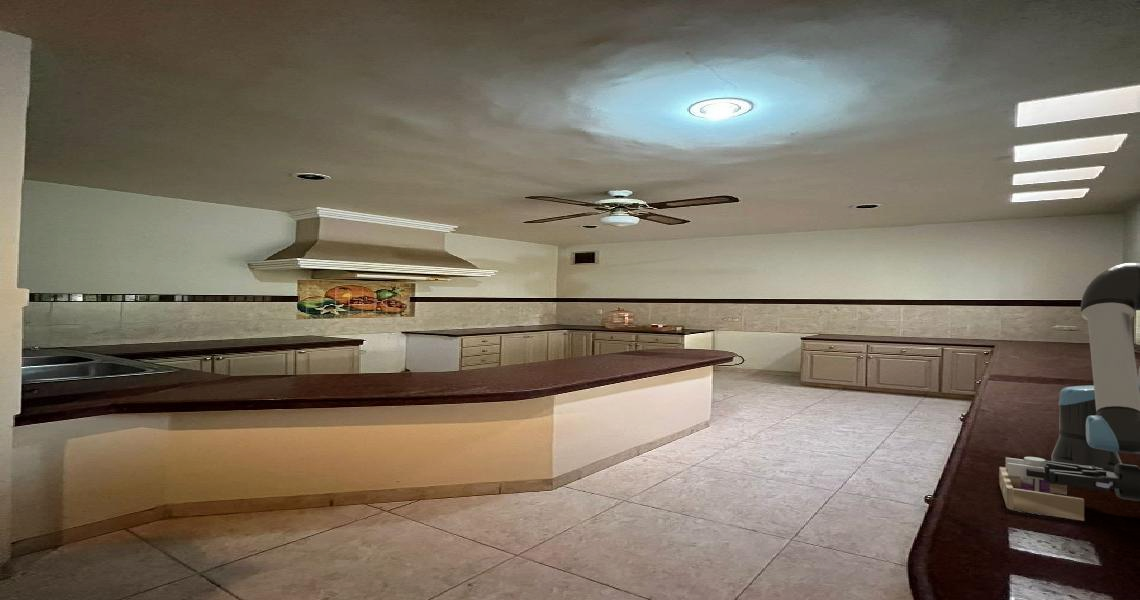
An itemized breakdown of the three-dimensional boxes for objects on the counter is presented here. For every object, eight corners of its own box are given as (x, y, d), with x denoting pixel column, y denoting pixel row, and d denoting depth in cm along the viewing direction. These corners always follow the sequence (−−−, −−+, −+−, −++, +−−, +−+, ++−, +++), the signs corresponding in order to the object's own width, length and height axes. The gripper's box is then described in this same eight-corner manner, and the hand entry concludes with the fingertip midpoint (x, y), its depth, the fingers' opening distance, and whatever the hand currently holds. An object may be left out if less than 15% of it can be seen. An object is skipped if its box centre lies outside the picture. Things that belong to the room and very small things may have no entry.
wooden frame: (999, 483, 146) (999, 466, 146) (1065, 493, 139) (1065, 475, 139) (1006, 508, 128) (1006, 488, 128) (1084, 520, 120) (1084, 499, 121)
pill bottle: (1045, 498, 135) (1045, 457, 135) (1053, 505, 130) (1053, 462, 130) (1017, 494, 137) (1017, 454, 137) (1024, 501, 132) (1024, 459, 132)
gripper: (1154, 513, 116) (1010, 491, 129) (1129, 490, 131) (1003, 472, 144) (1154, 476, 116) (1010, 458, 129) (1129, 457, 131) (1003, 443, 144)
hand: (1007, 466), depth 137 cm, fingers closed on pill bottle, 5 cm apart
